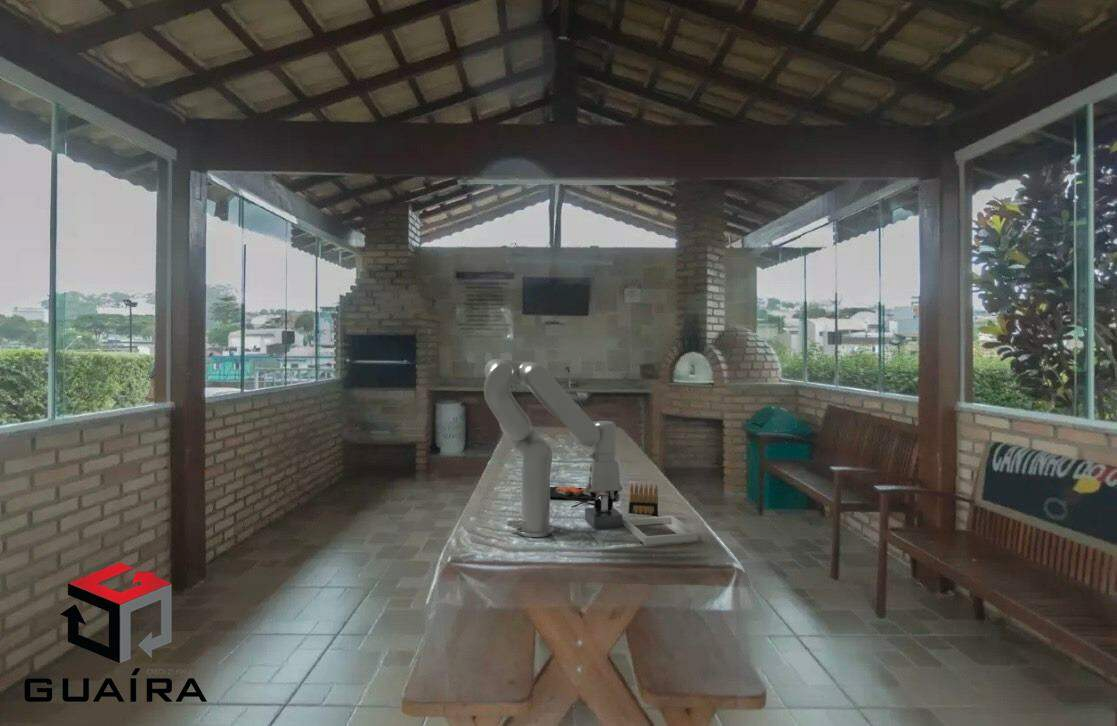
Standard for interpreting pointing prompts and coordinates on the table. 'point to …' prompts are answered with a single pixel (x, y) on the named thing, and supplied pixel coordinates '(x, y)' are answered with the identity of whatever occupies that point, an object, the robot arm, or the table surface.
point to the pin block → (603, 518)
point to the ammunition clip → (643, 500)
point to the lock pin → (604, 503)
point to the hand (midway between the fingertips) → (603, 509)
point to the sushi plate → (572, 494)
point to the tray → (671, 522)
